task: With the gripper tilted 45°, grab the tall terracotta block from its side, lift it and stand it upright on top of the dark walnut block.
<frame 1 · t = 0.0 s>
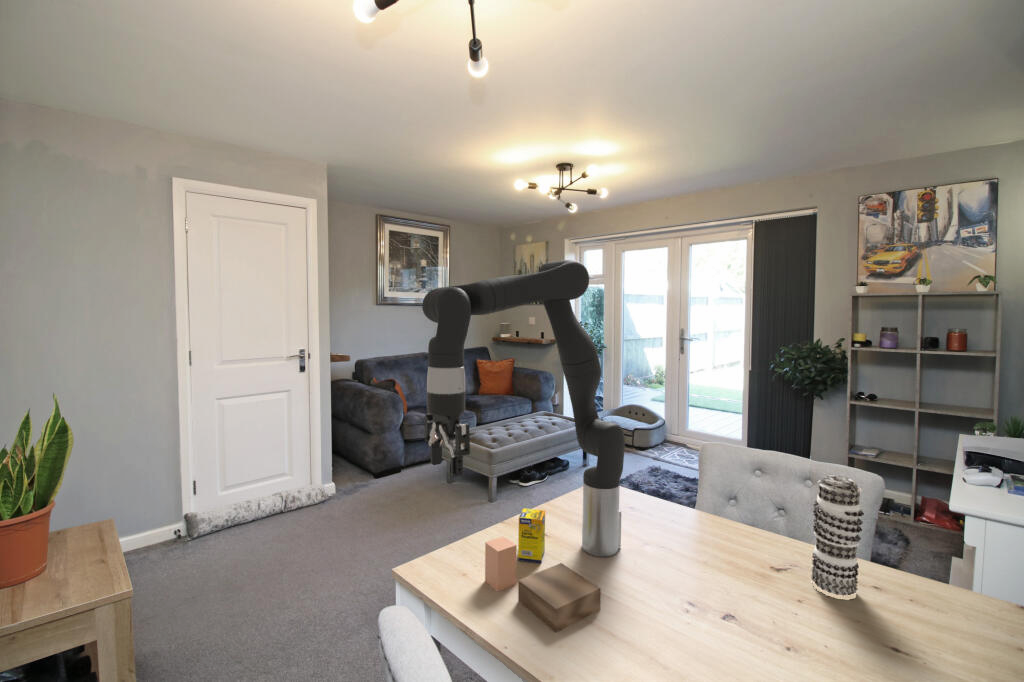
hand: (446, 469, 96), 29 cm above the table, tool pointing down, fingers open, 8 cm apart
walnut block: (558, 607, 100), on the table
terracotta block: (500, 582, 108), on the table
supplement box: (531, 557, 120), on the table
decorative candle: (833, 590, 107), on the table
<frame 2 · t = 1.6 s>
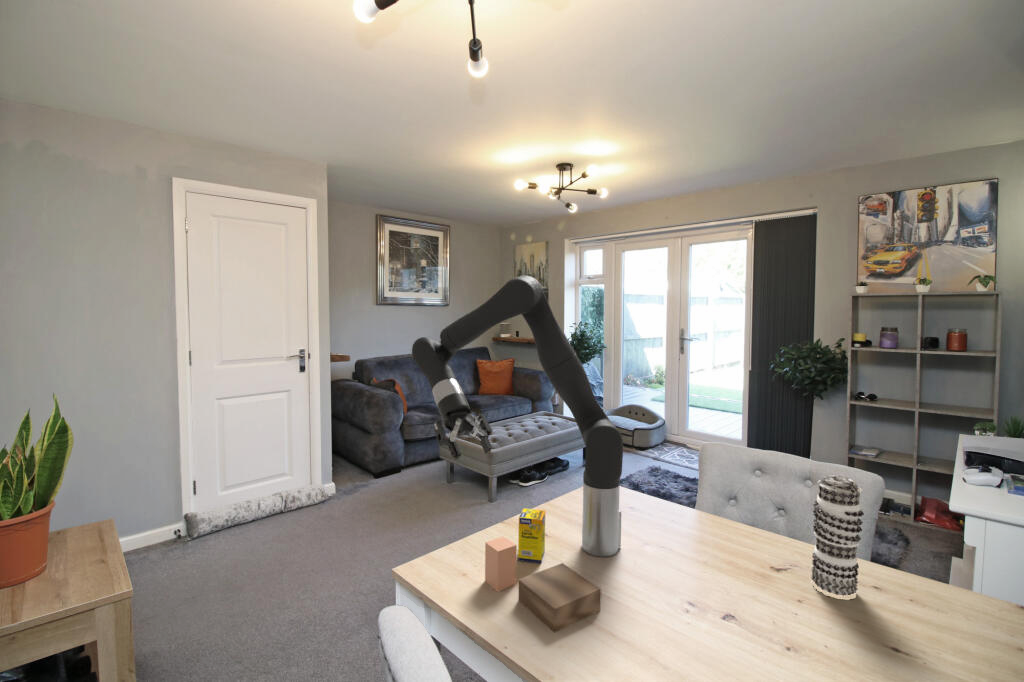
hand: (473, 454, 116), 26 cm above the table, tool tilted 45°, fingers open, 8 cm apart
nothing on the table moved.
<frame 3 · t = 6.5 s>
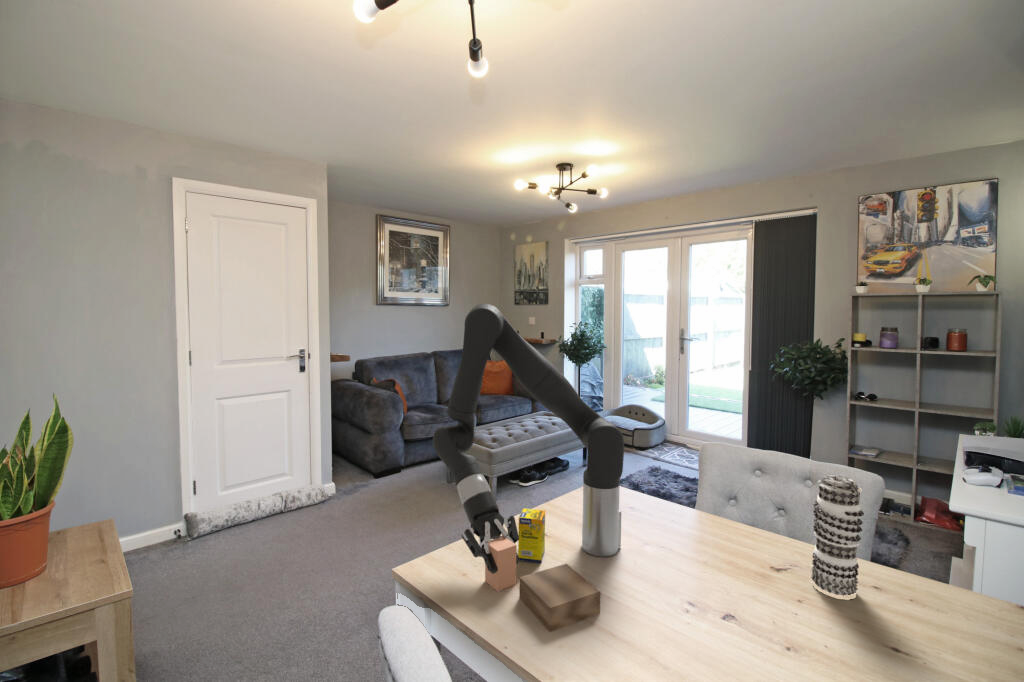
hand: (505, 567, 106), 4 cm above the table, tool tilted 45°, fingers closed on terracotta block, 5 cm apart
terracotta block: (500, 582, 108), on the table, touching gripper
everything else where it was.
when the fingers open (11 cm above the table, at t = 12.0 s): terracotta block drops 2 cm, point 5 cm above the table.
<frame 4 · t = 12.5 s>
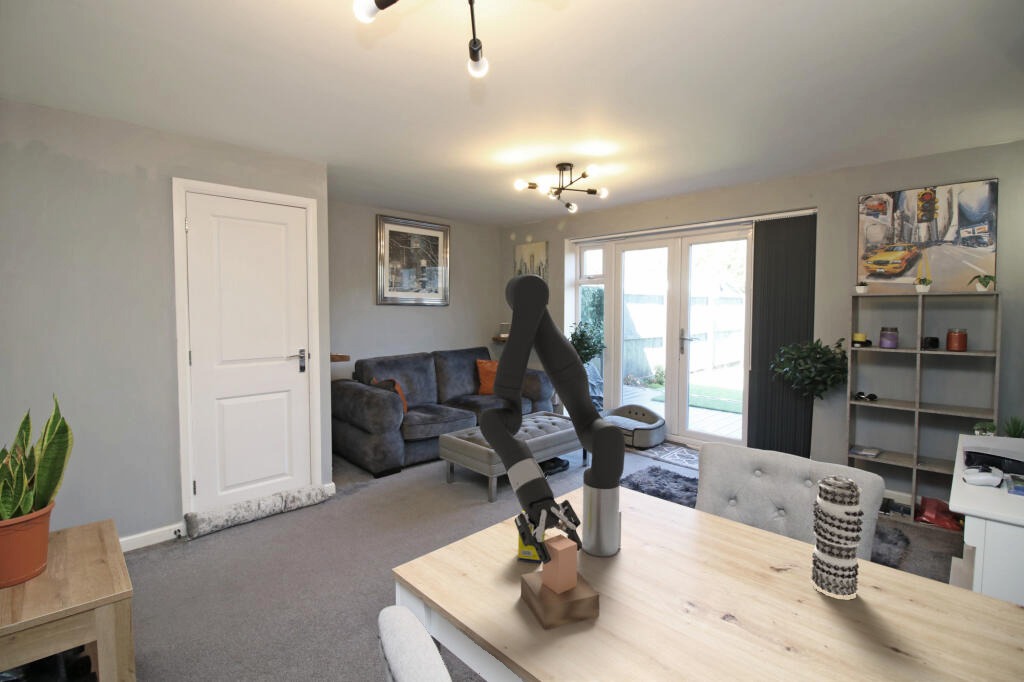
hand: (564, 556, 98), 11 cm above the table, tool tilted 45°, fingers open, 8 cm apart
terracotta block: (559, 584, 99), point 5 cm above the table
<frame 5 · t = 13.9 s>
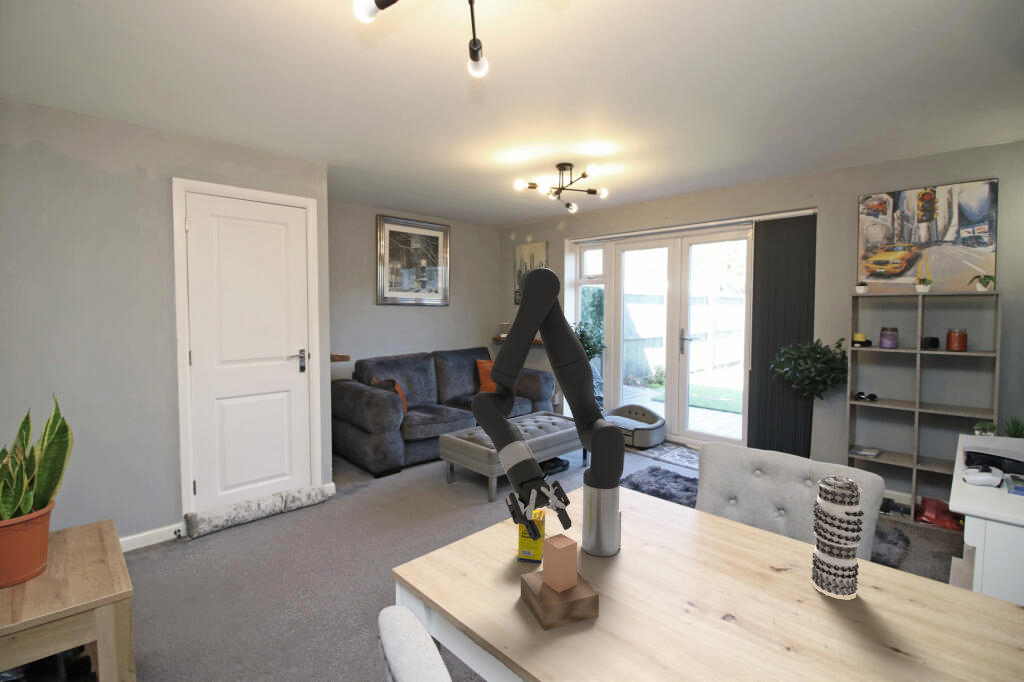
hand: (553, 533, 100), 15 cm above the table, tool tilted 45°, fingers open, 8 cm apart
walnut block: (558, 607, 100), on the table, touching terracotta block
terracotta block: (559, 583, 100), point 5 cm above the table, touching walnut block
everything else where it was.
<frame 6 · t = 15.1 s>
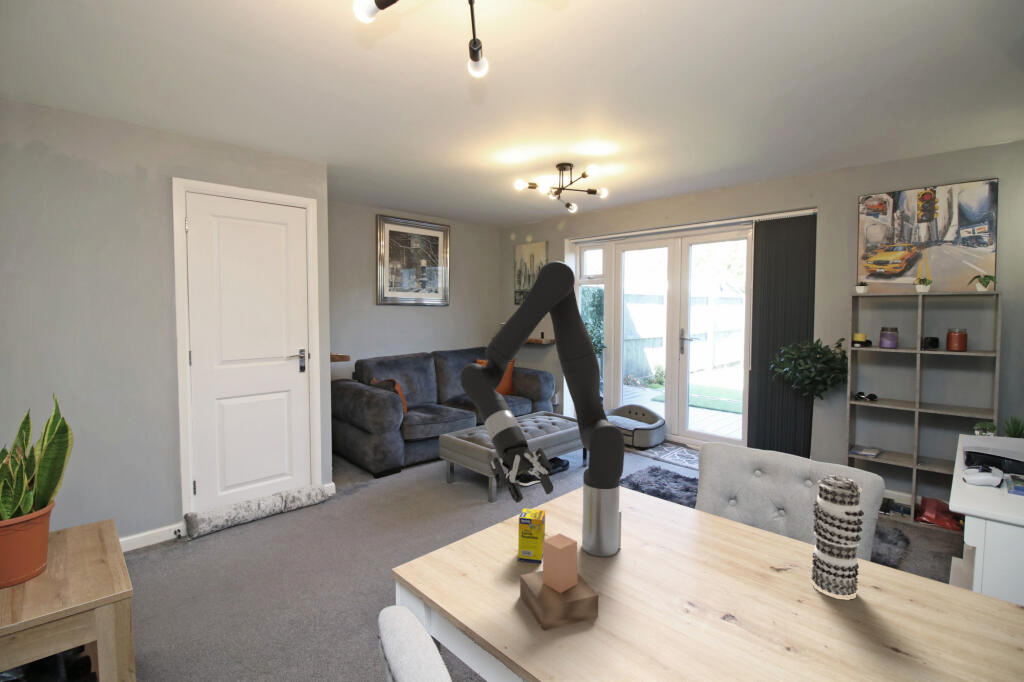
hand: (535, 496, 105), 21 cm above the table, tool tilted 45°, fingers open, 8 cm apart
walnut block: (557, 608, 99), on the table
terracotta block: (560, 583, 99), point 5 cm above the table
everything else where it was.
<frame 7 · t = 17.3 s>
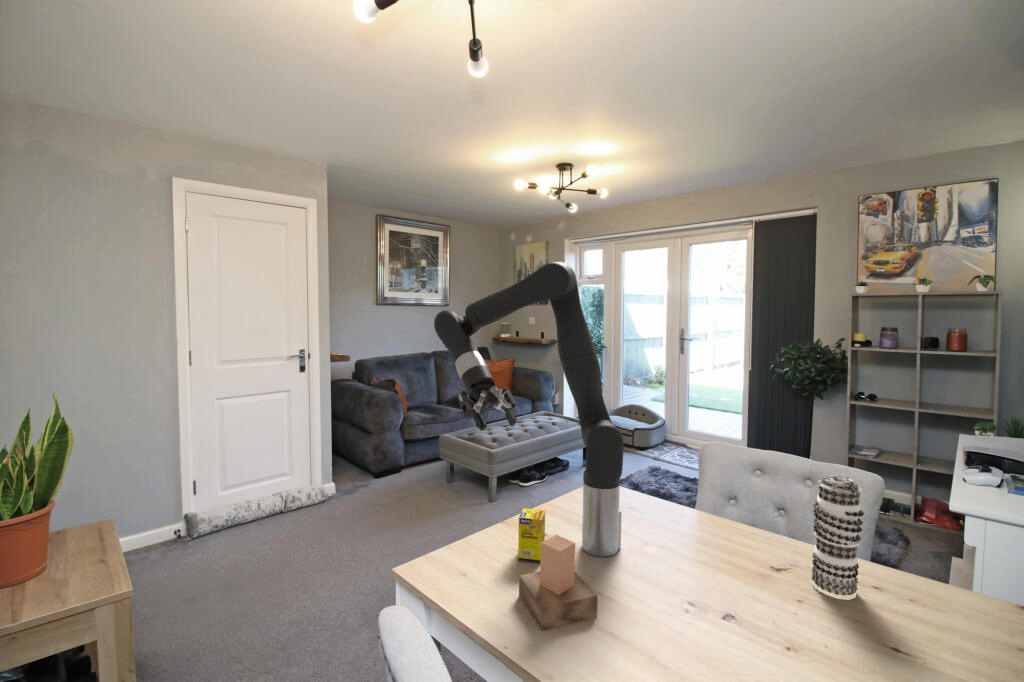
hand: (499, 426, 114), 34 cm above the table, tool tilted 45°, fingers open, 8 cm apart
at the end: terracotta block inside the target area on the walnut block (0.2 cm from its centre), point 5.1 cm above the walnut block's base; terracotta block tilted 2°; the gripper is holding nothing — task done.
